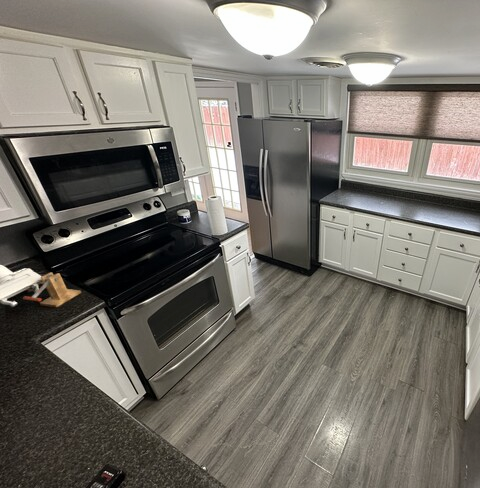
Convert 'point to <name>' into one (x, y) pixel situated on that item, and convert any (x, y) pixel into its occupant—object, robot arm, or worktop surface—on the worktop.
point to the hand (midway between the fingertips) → (28, 298)
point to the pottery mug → (34, 288)
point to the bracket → (57, 291)
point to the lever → (38, 291)
